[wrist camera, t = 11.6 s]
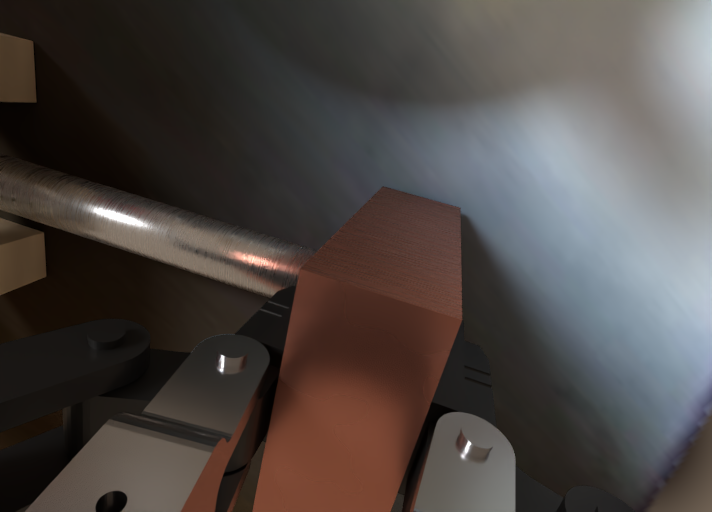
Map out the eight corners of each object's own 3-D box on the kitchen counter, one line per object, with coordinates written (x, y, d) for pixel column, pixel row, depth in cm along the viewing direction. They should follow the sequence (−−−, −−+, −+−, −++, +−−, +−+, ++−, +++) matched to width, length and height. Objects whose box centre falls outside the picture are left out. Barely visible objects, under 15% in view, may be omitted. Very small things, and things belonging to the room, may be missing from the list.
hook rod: (-25, 225, 17) (-334, 297, 10) (-45, 67, 15) (-453, 31, 8) (406, 370, 15) (362, 586, 8) (460, 208, 12) (462, 320, 6)
